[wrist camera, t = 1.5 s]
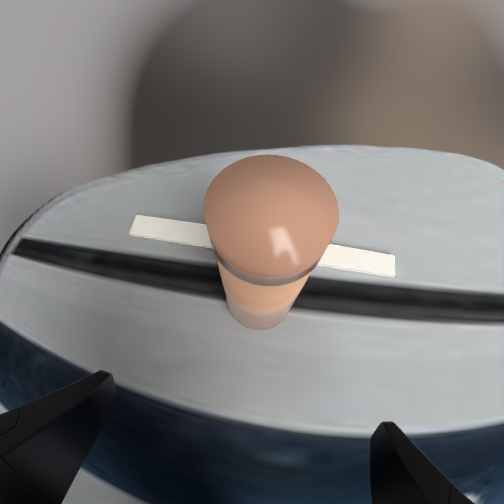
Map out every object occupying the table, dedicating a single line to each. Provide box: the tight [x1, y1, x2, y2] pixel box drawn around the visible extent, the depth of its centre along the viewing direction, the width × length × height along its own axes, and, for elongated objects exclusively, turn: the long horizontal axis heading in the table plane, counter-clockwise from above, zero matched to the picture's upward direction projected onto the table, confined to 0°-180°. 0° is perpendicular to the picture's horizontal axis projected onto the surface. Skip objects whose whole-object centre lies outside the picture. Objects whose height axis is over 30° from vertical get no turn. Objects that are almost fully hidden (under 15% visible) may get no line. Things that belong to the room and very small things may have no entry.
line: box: [129, 215, 395, 277], centre depth 24 cm, size 24×2×1 cm, turn 80°
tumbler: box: [204, 155, 339, 330], centre depth 17 cm, size 5×5×13 cm
